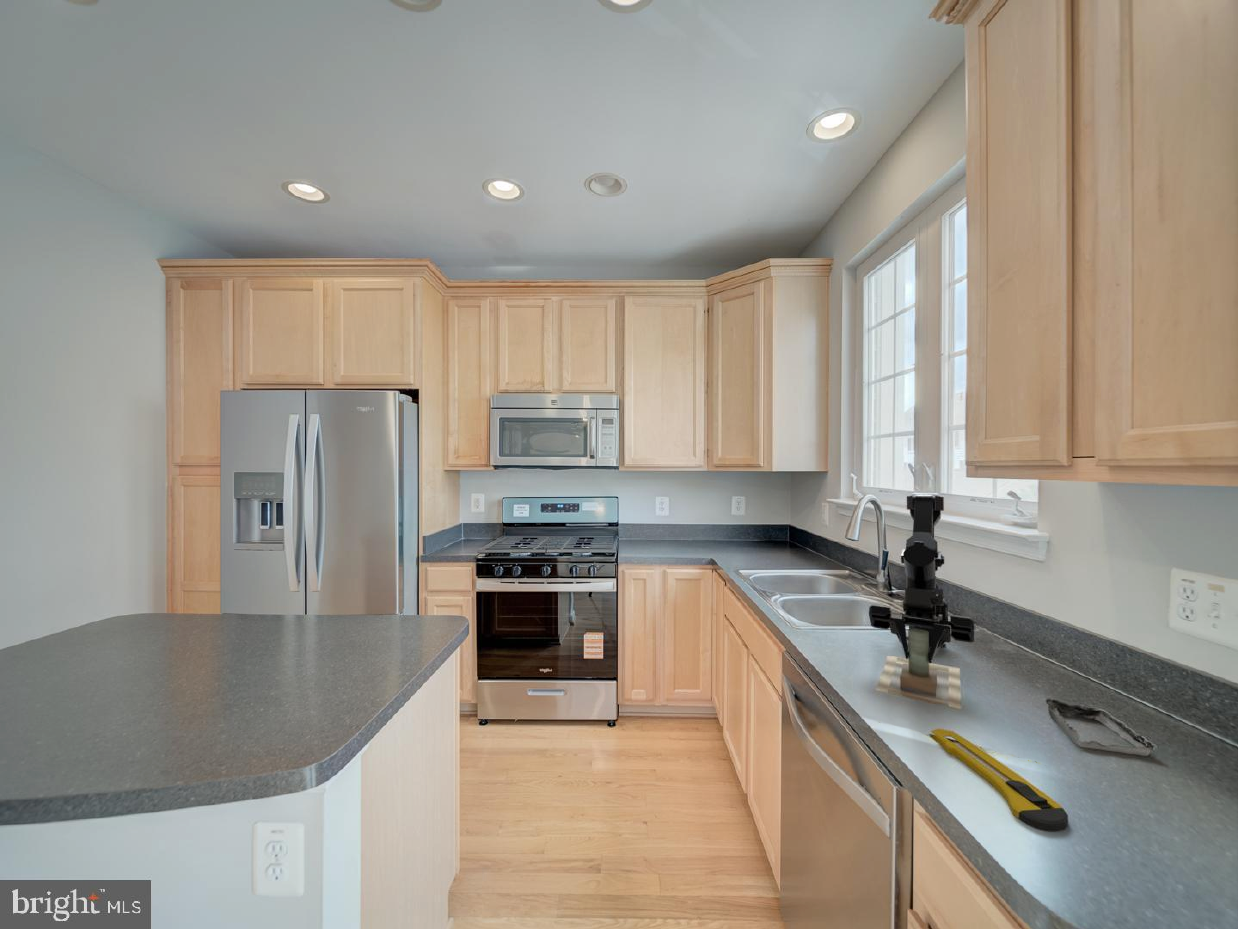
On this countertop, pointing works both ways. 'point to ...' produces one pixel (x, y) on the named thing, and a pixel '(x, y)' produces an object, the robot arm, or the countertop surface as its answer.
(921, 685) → the grey-green cylinder
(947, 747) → the utility knife
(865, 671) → the countertop surface
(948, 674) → the wooden frame
